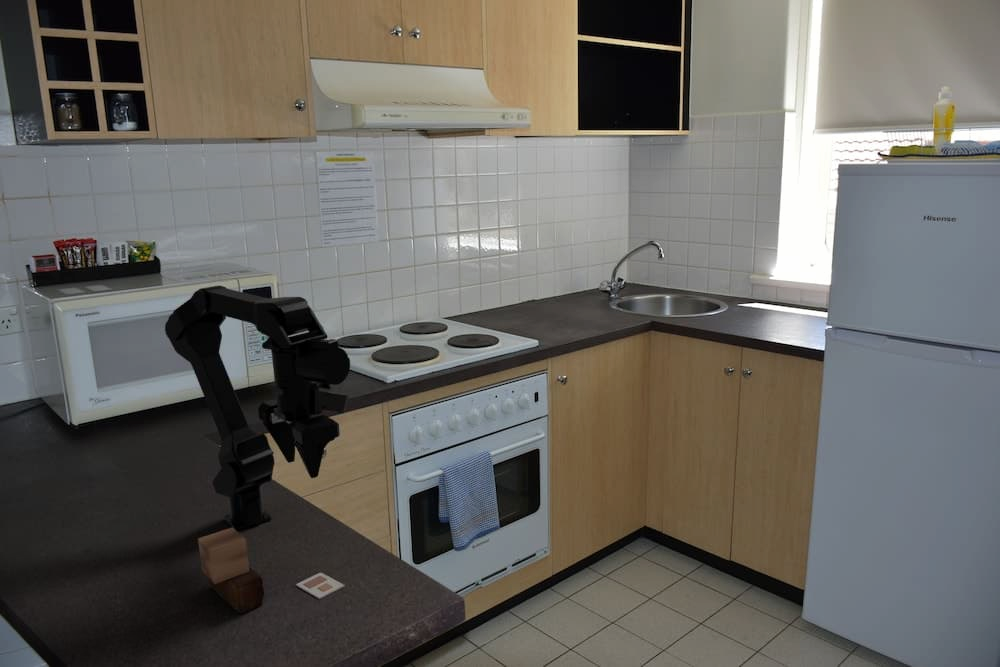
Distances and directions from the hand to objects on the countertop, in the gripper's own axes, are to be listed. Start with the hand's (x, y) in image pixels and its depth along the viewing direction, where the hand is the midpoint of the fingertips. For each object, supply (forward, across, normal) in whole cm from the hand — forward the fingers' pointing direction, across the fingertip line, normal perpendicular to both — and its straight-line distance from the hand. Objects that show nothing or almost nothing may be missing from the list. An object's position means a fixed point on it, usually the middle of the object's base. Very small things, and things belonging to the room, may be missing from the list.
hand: (302, 469), depth 125 cm
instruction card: (+12, -15, +5) cm, 20 cm away
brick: (+13, -9, +15) cm, 22 cm away
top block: (+8, -9, +17) cm, 21 cm away
